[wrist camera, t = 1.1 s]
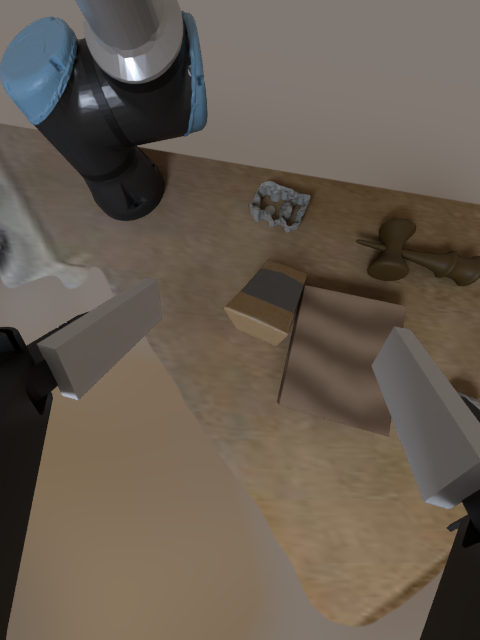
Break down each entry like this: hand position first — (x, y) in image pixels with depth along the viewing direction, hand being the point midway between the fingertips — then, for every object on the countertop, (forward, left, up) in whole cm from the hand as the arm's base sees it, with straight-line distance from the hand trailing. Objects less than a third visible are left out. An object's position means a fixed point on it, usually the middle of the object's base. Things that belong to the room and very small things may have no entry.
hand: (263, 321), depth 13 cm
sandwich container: (-10, 0, -29) cm, 30 cm away
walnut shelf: (-3, +13, -28) cm, 31 cm away
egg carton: (-29, -3, -29) cm, 41 cm away
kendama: (-23, +22, -29) cm, 43 cm away
